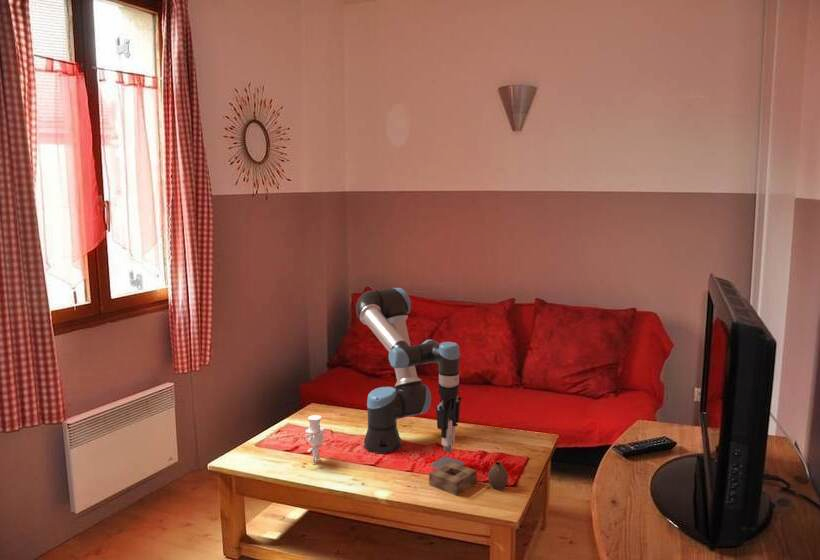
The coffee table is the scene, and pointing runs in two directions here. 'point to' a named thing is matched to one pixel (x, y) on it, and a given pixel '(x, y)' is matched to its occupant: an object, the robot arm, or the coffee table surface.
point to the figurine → (315, 435)
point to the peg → (449, 448)
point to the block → (453, 478)
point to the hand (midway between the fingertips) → (448, 443)
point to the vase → (498, 476)
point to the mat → (444, 461)
